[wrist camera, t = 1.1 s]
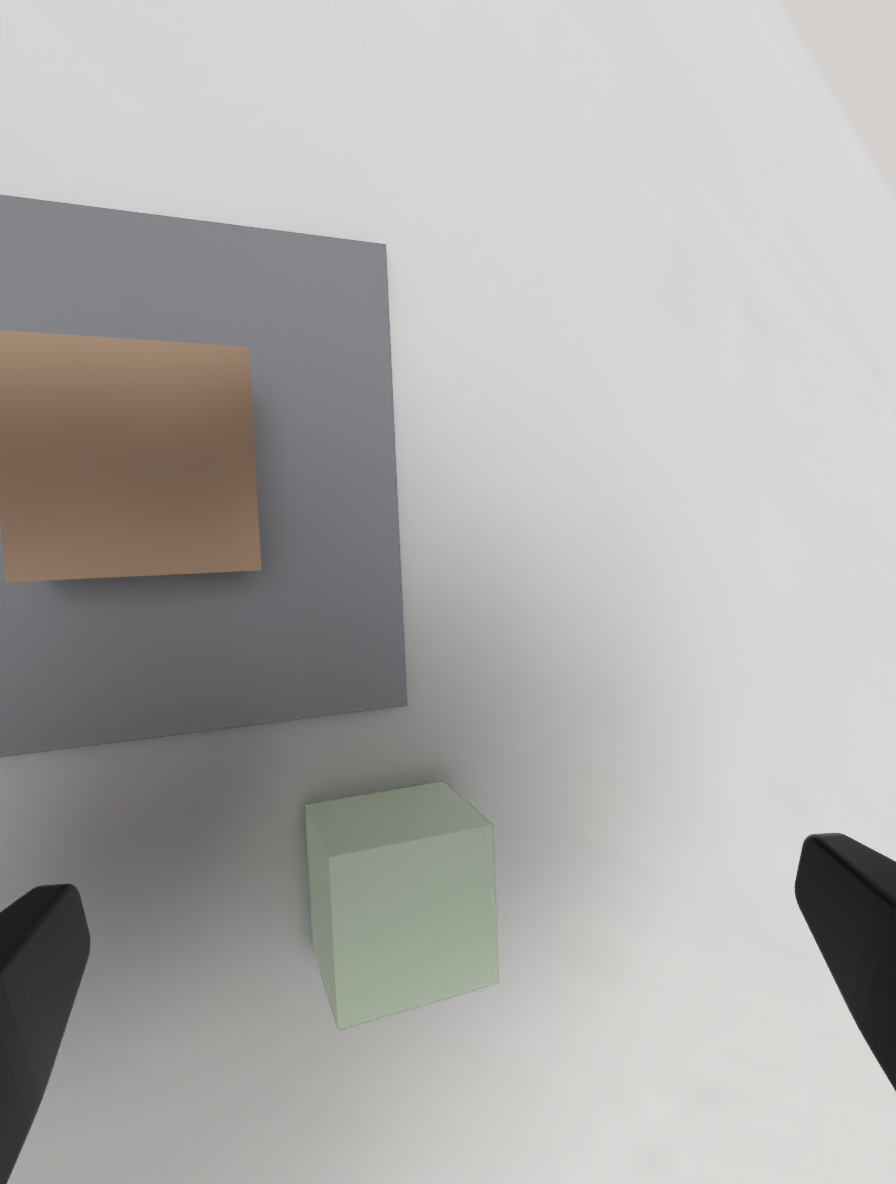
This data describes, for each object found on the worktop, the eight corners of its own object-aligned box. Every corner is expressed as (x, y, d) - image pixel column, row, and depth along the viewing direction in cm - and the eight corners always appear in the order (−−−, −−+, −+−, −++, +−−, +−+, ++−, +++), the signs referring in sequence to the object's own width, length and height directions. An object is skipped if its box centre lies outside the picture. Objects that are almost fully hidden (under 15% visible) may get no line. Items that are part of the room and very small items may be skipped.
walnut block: (248, 568, 19) (261, 570, 15) (47, 577, 17) (5, 582, 13) (237, 389, 19) (248, 346, 15) (31, 380, 17) (-16, 328, 13)
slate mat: (403, 702, 21) (407, 705, 21) (-147, 771, 16) (-156, 776, 16) (382, 250, 20) (385, 244, 20) (-206, 176, 15) (-216, 166, 15)
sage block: (447, 912, 22) (499, 983, 18) (312, 945, 21) (338, 1030, 17) (441, 779, 22) (492, 824, 18) (304, 803, 20) (328, 857, 17)
